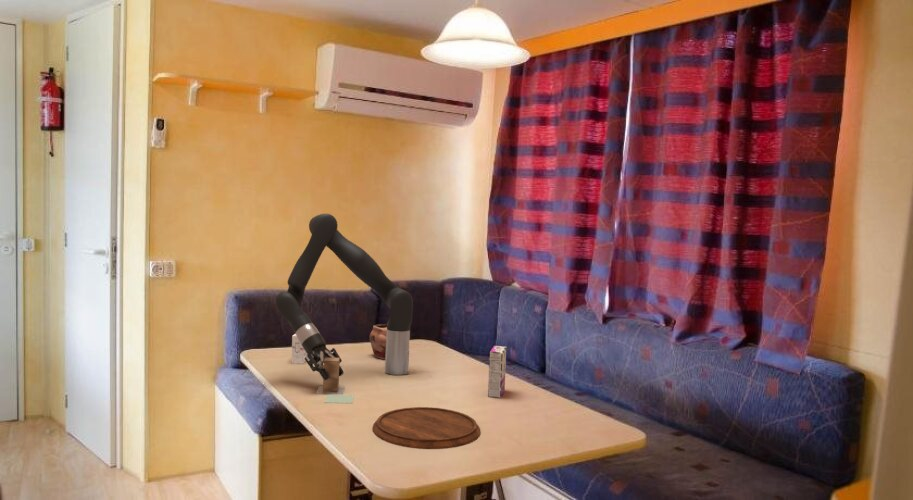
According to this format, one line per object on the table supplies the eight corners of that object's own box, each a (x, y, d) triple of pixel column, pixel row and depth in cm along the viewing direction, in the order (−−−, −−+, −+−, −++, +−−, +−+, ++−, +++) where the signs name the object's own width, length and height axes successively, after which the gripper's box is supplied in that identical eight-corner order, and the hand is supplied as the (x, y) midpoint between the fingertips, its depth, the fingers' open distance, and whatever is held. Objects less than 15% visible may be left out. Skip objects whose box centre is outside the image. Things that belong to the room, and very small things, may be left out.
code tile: (344, 388, 233) (344, 387, 233) (342, 395, 224) (342, 394, 224) (319, 387, 232) (319, 386, 232) (316, 394, 223) (316, 393, 223)
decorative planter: (359, 353, 291) (361, 322, 290) (383, 350, 298) (385, 320, 297) (381, 362, 274) (383, 330, 274) (406, 359, 281) (407, 328, 281)
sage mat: (353, 396, 223) (354, 395, 223) (352, 404, 214) (352, 403, 214) (327, 396, 222) (327, 394, 222) (324, 403, 213) (324, 402, 213)
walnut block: (338, 388, 230) (339, 357, 230) (337, 392, 225) (338, 361, 225) (324, 388, 230) (325, 357, 229) (322, 391, 225) (323, 360, 224)
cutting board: (422, 407, 215) (423, 400, 215) (501, 431, 195) (502, 423, 195) (349, 429, 191) (350, 421, 191) (431, 459, 171) (431, 450, 170)
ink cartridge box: (296, 359, 273) (297, 324, 272) (308, 359, 273) (309, 325, 272) (290, 363, 265) (292, 328, 264) (302, 364, 265) (304, 328, 264)
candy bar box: (491, 389, 241) (493, 345, 240) (504, 390, 240) (507, 346, 239) (486, 397, 230) (489, 351, 229) (500, 398, 229) (503, 352, 228)
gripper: (302, 335, 224) (327, 374, 219) (329, 329, 237) (354, 366, 231) (290, 348, 227) (314, 387, 222) (318, 342, 240) (341, 378, 234)
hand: (334, 376), depth 227 cm, fingers closed on walnut block, 7 cm apart
